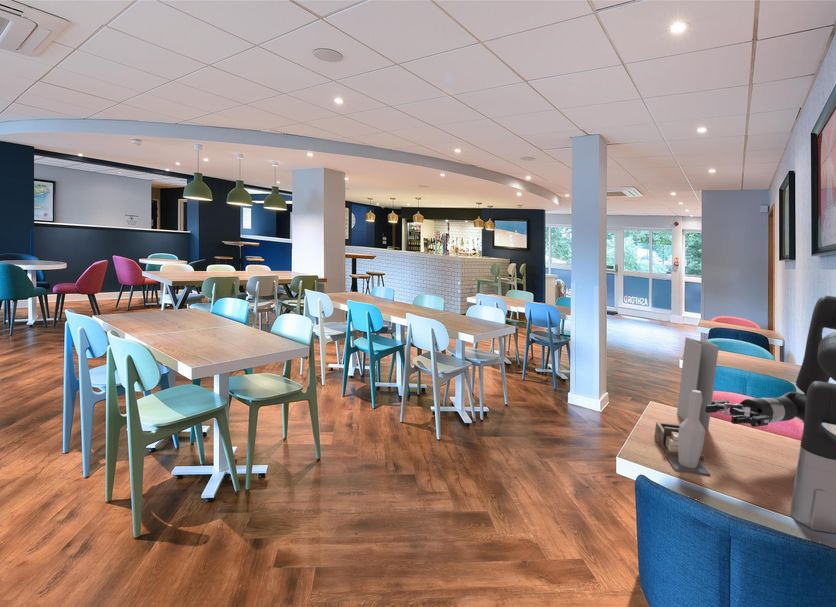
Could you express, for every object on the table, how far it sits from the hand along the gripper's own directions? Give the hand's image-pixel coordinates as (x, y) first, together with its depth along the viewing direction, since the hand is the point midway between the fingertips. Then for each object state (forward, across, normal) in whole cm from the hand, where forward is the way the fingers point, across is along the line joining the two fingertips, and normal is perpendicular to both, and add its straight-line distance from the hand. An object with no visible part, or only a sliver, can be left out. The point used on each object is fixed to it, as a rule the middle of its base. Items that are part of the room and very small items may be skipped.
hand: (719, 414), depth 132 cm
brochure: (-21, -28, +15) cm, 38 cm away
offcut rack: (+3, -10, +15) cm, 18 cm away
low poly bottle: (+9, 0, +15) cm, 17 cm away
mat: (+10, 0, +15) cm, 18 cm away
